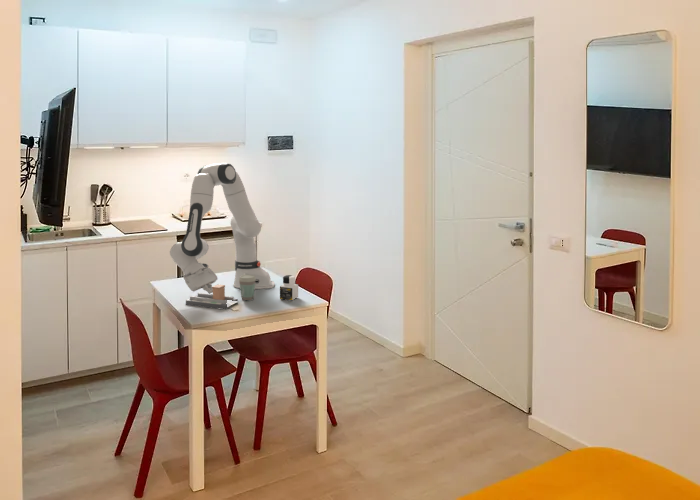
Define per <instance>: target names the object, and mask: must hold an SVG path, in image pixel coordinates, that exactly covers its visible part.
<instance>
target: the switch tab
mask: <svg viewBox="0 0 700 500" xmlns="http://www.w3.org/2000/svg"><path fill="white" fill-rule="evenodd" d="M212 288H213V293H212V294H213V299H219V300H225V296H226V292H225V290H226V289H225V288H226V285H225V284H219V283H218V284H216V285H212Z"/></svg>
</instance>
